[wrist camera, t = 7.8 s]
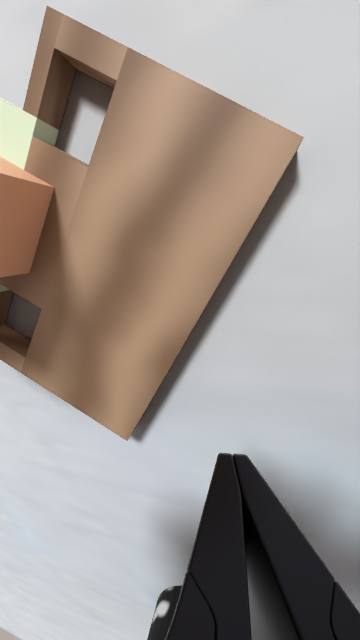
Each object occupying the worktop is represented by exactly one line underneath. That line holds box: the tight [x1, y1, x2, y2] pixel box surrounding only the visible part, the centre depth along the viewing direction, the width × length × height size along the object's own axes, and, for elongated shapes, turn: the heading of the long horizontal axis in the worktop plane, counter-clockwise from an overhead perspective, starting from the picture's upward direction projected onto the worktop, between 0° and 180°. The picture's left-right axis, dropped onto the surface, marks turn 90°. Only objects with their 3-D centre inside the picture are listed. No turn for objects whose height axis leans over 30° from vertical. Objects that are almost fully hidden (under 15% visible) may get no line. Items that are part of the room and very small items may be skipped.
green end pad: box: [0, 98, 59, 292], centre depth 19 cm, size 3×12×2 cm, turn 152°
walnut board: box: [0, 6, 304, 441], centre depth 19 cm, size 15×22×2 cm
